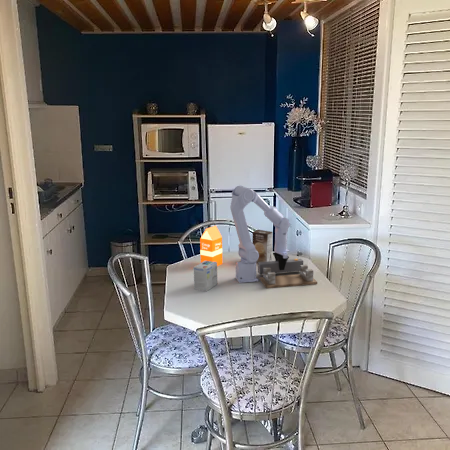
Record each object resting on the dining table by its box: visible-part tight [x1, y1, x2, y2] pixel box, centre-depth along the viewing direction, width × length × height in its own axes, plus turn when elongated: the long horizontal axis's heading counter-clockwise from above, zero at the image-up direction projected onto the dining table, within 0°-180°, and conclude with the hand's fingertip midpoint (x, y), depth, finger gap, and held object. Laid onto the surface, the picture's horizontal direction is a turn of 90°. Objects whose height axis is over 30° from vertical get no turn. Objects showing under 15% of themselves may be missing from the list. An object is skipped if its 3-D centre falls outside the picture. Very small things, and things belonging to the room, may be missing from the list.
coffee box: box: [252, 229, 273, 263], centre depth 248 cm, size 9×6×16 cm
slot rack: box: [258, 264, 318, 289], centre depth 218 cm, size 24×12×6 cm, turn 101°
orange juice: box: [199, 225, 223, 267], centre depth 243 cm, size 8×9×20 cm
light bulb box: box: [193, 261, 218, 292], centre depth 212 cm, size 11×7×11 cm, turn 154°
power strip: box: [257, 258, 304, 276], centre depth 229 cm, size 22×4×6 cm, turn 105°
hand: (280, 268), depth 229 cm, fingers closed on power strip, 4 cm apart
